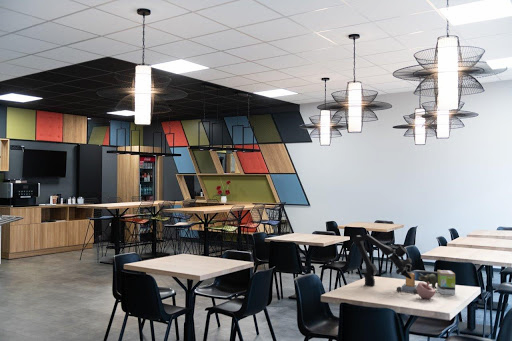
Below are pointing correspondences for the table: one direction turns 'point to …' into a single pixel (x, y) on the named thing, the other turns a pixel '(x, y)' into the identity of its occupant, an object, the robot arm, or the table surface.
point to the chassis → (407, 289)
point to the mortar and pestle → (425, 290)
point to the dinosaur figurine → (429, 279)
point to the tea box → (446, 282)
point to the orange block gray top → (410, 280)
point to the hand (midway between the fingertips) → (412, 278)
